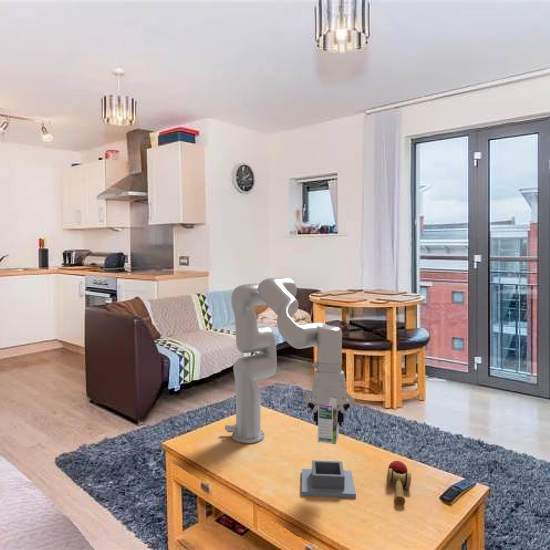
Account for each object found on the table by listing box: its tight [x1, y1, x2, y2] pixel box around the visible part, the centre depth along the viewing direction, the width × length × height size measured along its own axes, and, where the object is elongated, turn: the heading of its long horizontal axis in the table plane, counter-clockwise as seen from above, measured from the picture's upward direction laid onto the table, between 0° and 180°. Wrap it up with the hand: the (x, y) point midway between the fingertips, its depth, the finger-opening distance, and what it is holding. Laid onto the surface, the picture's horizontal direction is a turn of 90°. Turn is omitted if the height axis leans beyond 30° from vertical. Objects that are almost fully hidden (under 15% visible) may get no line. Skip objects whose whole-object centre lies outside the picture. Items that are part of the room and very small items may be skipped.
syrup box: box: [317, 397, 340, 445], centre depth 139 cm, size 6×6×14 cm
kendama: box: [386, 460, 412, 506], centre depth 137 cm, size 8×6×18 cm
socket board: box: [301, 459, 357, 499], centre depth 140 cm, size 16×14×5 cm
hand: (328, 423), depth 139 cm, fingers closed on syrup box, 6 cm apart
